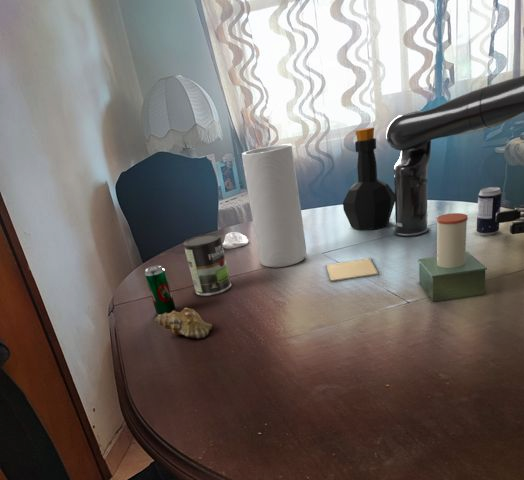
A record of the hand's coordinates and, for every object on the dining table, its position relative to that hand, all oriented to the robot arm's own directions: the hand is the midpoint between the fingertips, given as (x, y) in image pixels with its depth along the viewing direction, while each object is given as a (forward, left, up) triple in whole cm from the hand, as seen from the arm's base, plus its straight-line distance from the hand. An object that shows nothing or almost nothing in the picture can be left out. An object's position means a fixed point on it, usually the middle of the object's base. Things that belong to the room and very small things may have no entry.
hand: (503, 223), depth 95 cm
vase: (-39, -47, -13) cm, 62 cm away
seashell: (+3, -70, -13) cm, 71 cm away
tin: (-1, -10, -13) cm, 17 cm away
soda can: (-12, -78, -13) cm, 80 cm away
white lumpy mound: (-65, -64, -13) cm, 92 cm away
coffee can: (-24, -67, -13) cm, 72 cm away
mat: (-22, -29, -13) cm, 39 cm away
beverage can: (-35, +11, -13) cm, 39 cm away
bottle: (-62, -17, -13) cm, 65 cm away
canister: (-1, -10, -7) cm, 12 cm away
